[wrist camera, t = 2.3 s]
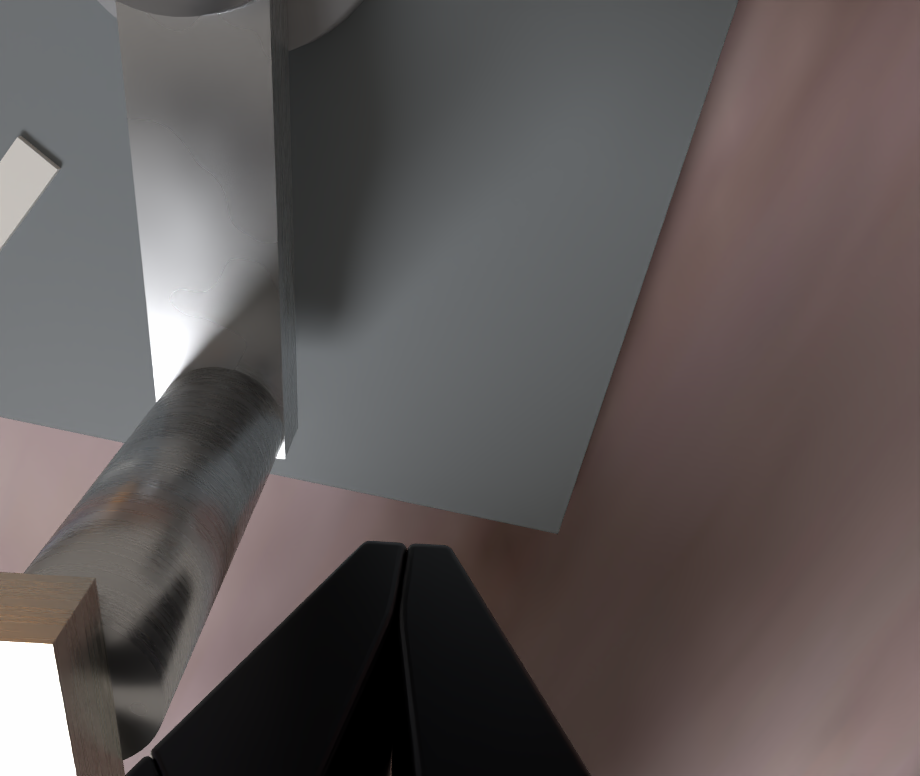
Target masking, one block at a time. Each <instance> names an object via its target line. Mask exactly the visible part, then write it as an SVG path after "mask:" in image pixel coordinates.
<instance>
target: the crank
mask: <svg viewBox="0 0 920 776" xmlns="http://www.w3.org/2000/svg"><path fill="white" fill-rule="evenodd" d="M115 3H116V13H117V22H118V32H119V42H120V52H121V61H122V71H123V81H124V91H125V100H126V110H127V120H128V130H129V139H130V149H131V159H132V169H133V179H134V188H135V198H136V208H137V218H138V227H139V237H140V247H141V257H142V266H143V276H144V286H145V296H146V305H147V315H148V325H149V335H150V344H151V354H152V364H153V374H154V384H155V393H156V403H155V405H154V406H153V407H152V408H151V410H150V411H149V412H148V414H147V415H146V416H145V417H144V419H143V420H142V421H141V423H140V424H139V425H138V426H137V428H136V429H135V430H134V432H133V433H132V434H131V436H130V437H129V438H128V439H127V441H126V442H125V443H124V445H123V446H122V447H121V448H120V450H119V451H118V452H117V454H116V455H115V456H114V457H113V459H112V460H111V461H110V463H109V464H108V465H107V466H106V468H105V469H104V470H103V472H102V473H101V474H100V475H99V477H98V478H97V479H96V481H95V482H94V483H93V484H92V486H91V487H90V488H89V490H88V491H87V492H86V493H85V495H84V496H83V497H82V499H81V500H80V501H79V502H78V504H77V505H76V506H75V508H74V509H73V510H72V511H71V513H70V514H69V515H68V517H67V518H66V519H65V521H64V522H63V523H62V524H61V526H60V527H59V528H58V530H57V531H56V532H55V533H54V535H53V536H52V537H51V539H50V540H49V541H48V542H47V544H46V545H45V546H44V548H43V549H42V550H41V551H40V553H39V554H38V555H37V557H36V558H35V559H34V560H33V562H32V563H31V564H30V566H29V567H28V568H27V569H26V571H25V572H24V573H5V572H0V776H125V771H124V765H123V760H125V759H127V758H129V757H131V756H133V755H135V754H136V753H138V752H139V751H141V750H142V749H143V748H144V747H146V746H147V745H148V744H149V743H150V742H151V741H152V739H153V738H154V737H155V735H156V734H157V732H158V730H159V728H160V726H161V724H162V722H163V719H164V717H165V715H166V712H167V710H168V708H169V705H170V703H171V701H172V698H173V696H174V694H175V691H176V689H177V687H178V684H179V682H180V680H181V678H182V675H183V673H184V671H185V668H186V666H187V664H188V661H189V659H190V657H191V654H192V652H193V650H194V647H195V645H196V643H197V640H198V638H199V636H200V634H201V631H202V629H203V627H204V624H205V622H206V620H207V617H208V615H209V613H210V610H211V608H212V606H213V603H214V601H215V599H216V596H217V594H218V592H219V590H220V587H221V585H222V583H223V580H224V578H225V576H226V573H227V571H228V569H229V566H230V564H231V562H232V559H233V557H234V555H235V552H236V550H237V548H238V546H239V543H240V541H241V539H242V536H243V534H244V532H245V529H246V527H247V525H248V522H249V520H250V518H251V515H252V513H253V511H254V508H255V506H256V504H257V502H258V499H259V497H260V495H261V492H262V490H263V488H264V485H265V483H266V481H267V478H268V476H269V474H270V471H271V469H272V467H273V464H274V462H275V460H276V458H278V459H285V458H286V456H287V453H288V451H289V448H290V446H291V443H292V441H293V439H294V436H295V434H296V431H297V429H298V401H297V363H296V325H295V287H294V249H293V211H292V172H291V134H290V96H289V58H288V20H287V0H115Z"/></svg>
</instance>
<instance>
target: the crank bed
mask: <svg viewBox="0 0 920 776" xmlns="http://www.w3.org/2000/svg"><path fill="white" fill-rule="evenodd" d="M737 3H738V0H287V20H288V58H289V96H290V134H291V172H292V211H293V249H294V287H295V325H296V363H297V401H298V429H297V431H296V434H295V436H294V439H293V441H292V443H291V446H290V448H289V451H288V453H287V456H286V458H285V459H278V458H276V460H275V462H274V464H273V467H272V469H271V471H270V474H275V475H279V476H284V477H289V478H294V479H298V480H303V481H308V482H313V483H318V484H322V485H327V486H332V487H337V488H341V489H346V490H351V491H356V492H360V493H365V494H370V495H375V496H379V497H384V498H389V499H394V500H398V501H403V502H408V503H413V504H418V505H422V506H427V507H432V508H437V509H441V510H446V511H451V512H456V513H460V514H465V515H470V516H475V517H479V518H484V519H489V520H494V521H498V522H503V523H508V524H513V525H518V526H522V527H527V528H532V529H537V530H541V531H546V532H551V533H556V534H558V532H559V529H560V526H561V523H562V521H563V518H564V515H565V512H566V509H567V506H568V503H569V500H570V497H571V494H572V491H573V488H574V485H575V482H576V479H577V476H578V473H579V470H580V467H581V464H582V461H583V458H584V455H585V453H586V450H587V447H588V444H589V441H590V438H591V435H592V432H593V429H594V426H595V423H596V420H597V417H598V414H599V411H600V408H601V405H602V402H603V399H604V396H605V393H606V390H607V388H608V385H609V382H610V379H611V376H612V373H613V370H614V367H615V364H616V361H617V358H618V355H619V352H620V349H621V346H622V343H623V340H624V337H625V334H626V331H627V328H628V325H629V322H630V320H631V317H632V314H633V311H634V308H635V305H636V302H637V299H638V296H639V293H640V290H641V287H642V284H643V281H644V278H645V275H646V272H647V269H648V266H649V263H650V260H651V257H652V254H653V252H654V249H655V246H656V243H657V240H658V237H659V234H660V231H661V228H662V225H663V222H664V219H665V216H666V213H667V210H668V207H669V204H670V201H671V198H672V195H673V192H674V189H675V186H676V184H677V181H678V178H679V175H680V172H681V169H682V166H683V163H684V160H685V157H686V154H687V151H688V148H689V145H690V142H691V139H692V136H693V133H694V130H695V127H696V124H697V121H698V118H699V116H700V113H701V110H702V107H703V104H704V101H705V98H706V95H707V92H708V89H709V86H710V83H711V80H712V77H713V74H714V71H715V68H716V65H717V62H718V59H719V56H720V53H721V51H722V48H723V45H724V42H725V39H726V36H727V33H728V30H729V27H730V24H731V21H732V18H733V15H734V12H735V9H736V6H737ZM155 403H156V393H155V384H154V374H153V364H152V354H151V344H150V335H149V325H148V315H147V305H146V296H145V286H144V276H143V266H142V257H141V247H140V237H139V227H138V218H137V208H136V198H135V188H134V179H133V169H132V159H131V149H130V139H129V130H128V120H127V110H126V100H125V91H124V81H123V71H122V61H121V52H120V42H119V32H118V22H117V13H116V3H115V0H0V417H3V418H8V419H13V420H18V421H22V422H27V423H32V424H37V425H41V426H46V427H51V428H56V429H60V430H65V431H70V432H75V433H79V434H84V435H89V436H94V437H98V438H103V439H108V440H113V441H118V442H122V443H125V442H126V441H127V439H128V438H129V437H130V436H131V434H132V433H133V432H134V430H135V429H136V428H137V426H138V425H139V424H140V423H141V421H142V420H143V419H144V417H145V416H146V415H147V414H148V412H149V411H150V410H151V408H152V407H153V406H154V405H155Z"/></svg>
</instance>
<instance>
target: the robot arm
mask: <svg viewBox="0 0 920 776" xmlns="http://www.w3.org/2000/svg"><path fill="white" fill-rule="evenodd" d="M391 759H392V776H591V775H590V773H589V771H588V770H587V768H586V766H585V765H584V763H583V762H582V760H581V758H580V757H579V755H578V753H577V752H576V750H575V749H574V747H573V745H572V744H571V742H570V740H569V739H568V737H567V736H566V734H565V732H564V731H563V729H562V727H561V726H560V724H559V723H558V721H557V719H556V718H555V716H554V714H553V713H552V711H551V710H550V708H549V706H548V705H547V703H546V701H545V700H544V698H543V697H542V695H541V693H540V692H539V690H538V688H537V687H536V685H535V684H534V682H533V680H532V679H531V677H530V675H529V674H528V672H527V671H526V669H525V667H524V666H523V664H522V662H521V661H520V659H519V658H518V656H517V654H516V653H515V651H514V649H513V648H512V646H511V645H510V643H509V641H508V640H507V638H506V636H505V635H504V633H503V632H502V630H501V628H500V627H499V625H498V623H497V622H496V620H495V619H494V617H493V615H492V614H491V612H490V610H489V609H488V607H487V606H486V604H485V602H484V601H483V599H482V597H481V596H480V594H479V593H478V591H477V589H476V588H475V586H474V584H473V583H472V581H471V580H470V578H469V576H468V575H467V573H466V571H465V570H464V568H463V567H462V565H461V563H460V562H459V560H458V558H457V557H456V555H455V554H454V552H453V551H452V549H451V548H450V547H448V546H446V545H431V544H412V545H411V546H409V548H408V550H407V548H406V546H405V545H404V544H402V543H396V542H379V541H367V542H365V543H363V544H362V545H361V546H360V547H359V548H358V549H357V550H356V551H354V552H353V553H352V554H351V555H350V556H349V557H348V558H347V559H346V560H345V561H344V562H343V563H342V564H341V565H340V566H339V567H338V568H337V569H336V570H335V571H334V572H333V573H332V574H331V575H330V576H329V577H328V578H327V579H326V580H325V581H324V582H323V583H322V584H321V585H320V586H319V587H318V588H317V589H316V590H315V591H314V592H313V593H312V594H311V595H309V596H308V597H307V598H306V599H305V600H304V601H303V602H302V603H301V604H300V605H299V606H298V607H297V608H296V609H295V610H294V611H293V612H292V613H291V614H290V615H289V616H288V617H287V618H286V619H285V620H284V621H283V622H282V623H281V624H280V625H279V626H278V627H277V628H276V629H275V630H274V631H273V632H272V633H271V634H270V635H269V636H268V637H267V638H266V639H265V640H263V641H262V642H261V643H260V644H259V645H258V646H257V647H256V648H255V649H254V650H253V651H252V652H251V653H250V654H249V655H248V656H247V657H246V658H245V659H244V660H243V661H242V662H241V663H240V664H239V665H238V666H237V667H236V668H235V669H234V670H233V671H232V672H231V673H230V674H229V675H228V676H227V677H226V678H225V679H224V680H223V681H222V682H221V683H220V684H219V685H217V686H216V687H215V688H214V689H213V690H212V691H211V692H210V693H209V694H208V695H207V696H206V697H205V698H204V699H203V700H202V701H201V702H200V703H199V704H198V705H197V706H196V707H195V708H194V709H193V710H192V711H191V712H190V713H189V714H188V715H187V716H186V717H185V718H184V719H183V720H182V721H181V722H180V723H179V724H178V725H177V726H176V727H175V728H174V729H173V730H171V731H170V732H169V733H168V734H167V735H166V736H165V737H164V738H163V739H162V740H161V741H160V742H159V743H158V744H157V745H156V746H155V747H154V748H153V749H152V751H151V753H150V757H149V756H146V757H144V758H142V759H141V760H140V761H139V762H138V763H137V764H136V765H135V766H134V767H133V768H132V769H131V770H130V771H129V772H128V773H127V774H126V775H125V776H389V775H390V767H391Z"/></svg>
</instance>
